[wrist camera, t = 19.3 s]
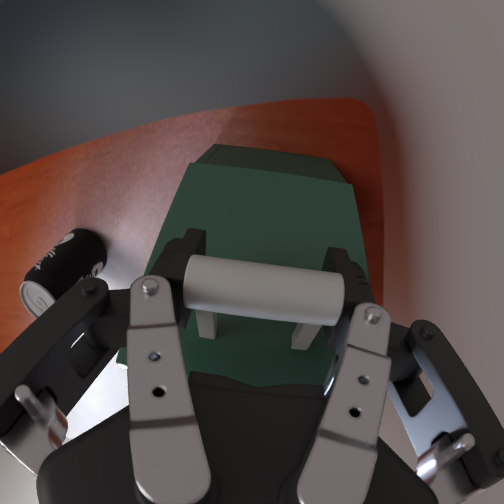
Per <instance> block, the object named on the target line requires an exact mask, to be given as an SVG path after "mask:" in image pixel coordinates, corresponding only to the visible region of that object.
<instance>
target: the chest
mask: <svg viewBox="0 0 504 504" xmlns="http://www.w3.org/2000/svg"><path fill="white" fill-rule="evenodd" d="M195 163H200V164H211V165H221V166H231V167H240V168H248V169H256V170H264V171H272V172H279V173H286V174H293V175H300V176H306V177H312V178H319V179H325V180H330V181H336V182H342V183H347V182H346V181H345V179H344V178H343V177H342V175H341V174H340V172H339V171H338V170H337V168H336V167H335V165H334V164H333V163H332V161H331V160H330V159H325V158H319V157H313V156H307V155H301V154H294V153H287V152H280V151H273V150H266V149H258V148H249V147H240V146H231V145H220V144H214V145H213V146H211V147H210V148H209V149H208V150H207V151H206V152H205V153H204V154H203V155H202V156H201V157H200V158H199V159H198V160H197V161H196V162H195Z"/></svg>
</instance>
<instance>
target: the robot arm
mask: <svg viewBox="0 0 504 504" xmlns="http://www.w3.org/2000/svg"><path fill="white" fill-rule="evenodd" d="M192 255H203V256H206V230H203V229H195V228H188V229H187V231H186V233H185V235H184V237H183V238H174V239H172V240H171V241H169V242H167V243H166V245H165V246H164V248H163V250H162V252H161V253H160V255H159V257H158V258H157V260H156V262H155V263H154V265H153V267H152V269H151V270H150V272H149V274H148V275H146V276H142V277H140V278H138V279H136V280H135V281H134V282H133V283H132V284H131V287H130V288H129V289H121V290H109V289H108V285H107V283H106V282H105V281H104V280H102V279H100V278H86V279H83V280H81V281H79V282H77V283H76V284H75V285H74V286H73V287H71V288H70V289H69V290H68V291H67V292H66V293H65V294H63V295H62V296H61V297H60V298H59V299H58V300H57V301H56V302H54V303H53V304H52V305H51V306H50V307H49V308H48V309H47V310H46V311H45V312H44V313H42V314H41V315H40V316H39V317H38V318H37V319H36V320H35V321H34V322H33V323H32V324H31V325H30V326H29V327H28V328H26V329H25V330H24V331H23V332H22V333H21V334H20V335H19V336H18V337H17V338H16V339H15V340H14V341H13V342H12V343H11V344H10V345H9V346H8V347H7V348H6V349H5V350H4V351H3V352H2V353H1V354H0V447H1V449H3V450H5V451H6V452H8V453H9V454H10V455H11V456H13V457H14V458H15V459H17V460H18V461H19V462H20V463H21V464H22V465H23V466H25V468H27V469H28V470H29V471H30V472H31V473H32V474H33V475H35V476H36V477H37V480H36V486H37V487H36V489H37V495H38V500H39V504H459V503H461V502H463V501H465V500H467V499H469V498H471V497H473V496H475V495H477V494H478V493H480V492H482V491H484V490H485V489H487V488H489V487H490V486H492V485H494V484H495V483H497V482H499V481H500V480H502V479H504V429H503V427H502V426H501V424H500V422H499V420H498V418H497V417H496V415H495V413H494V411H493V410H492V408H491V406H490V405H489V403H488V401H487V400H486V398H485V397H484V395H483V393H482V391H481V390H480V388H479V387H478V385H477V384H476V382H475V380H474V379H473V377H472V376H471V374H470V373H469V371H468V369H467V368H466V367H465V366H464V363H463V362H462V361H461V359H460V358H459V356H458V355H457V353H456V352H455V350H454V349H453V347H452V346H451V344H450V343H449V342H448V340H447V339H446V337H445V336H444V334H443V333H442V332H441V330H440V329H439V328H438V327H437V326H436V325H435V324H433V323H431V322H429V321H427V320H416V321H414V322H413V323H412V325H411V327H410V328H407V327H404V326H401V325H398V324H395V323H392V322H391V317H390V315H389V313H388V312H387V311H386V310H385V309H384V308H383V307H381V306H379V305H377V304H376V302H375V299H374V297H373V294H372V291H371V288H370V286H369V285H368V284H369V283H368V280H367V279H366V275H365V273H364V270H363V269H362V267H361V266H360V265H359V264H358V263H357V262H354V261H350V258H349V255H348V252H347V250H346V249H343V248H336V247H328V249H327V252H326V255H325V259H324V263H323V266H322V270H321V271H326V272H334V273H339V274H341V275H342V277H343V280H344V286H345V296H344V305H343V309H342V313H341V316H340V319H339V321H338V322H337V324H336V325H334V326H327V325H323V326H324V333H325V340H326V347H331V348H336V354H335V356H334V358H333V361H332V364H331V367H330V369H329V372H328V375H327V378H326V380H325V383H324V385H309V384H294V383H291V384H283V385H275V386H267V387H254V386H251V385H248V384H245V383H242V382H240V381H237V380H234V379H231V378H228V377H226V376H222V375H215V374H209V373H203V372H197V371H191V370H190V374H189V378H188V380H187V375H186V370H185V365H184V360H183V355H182V349H181V343H180V338H179V332H178V328H180V329H186V326H187V323H188V320H189V317H190V314H191V311H192V309H190V308H186V307H185V305H184V301H183V284H184V277H185V272H186V267H187V264H188V261H189V259H190V257H191V256H192ZM83 332H84V335H83V336H82V337H81V338H80V339H79V340H78V341H77V342H76V343H75V344H74V346H73V347H72V348H71V346H72V344H73V343H74V342H75V341H76V340H77V339H78V337H79V336H80V335H81V334H82V333H83ZM123 347H127V376H128V396H129V405H128V406H126V407H125V408H123V409H121V410H120V411H118V412H117V413H115V414H113V415H112V416H110V417H109V418H107V419H105V420H104V421H102V422H101V423H99V424H97V425H96V426H94V427H92V428H91V429H89V430H88V431H86V432H84V433H83V434H81V435H79V436H78V437H76V438H74V439H72V440H71V441H69V442H67V443H66V444H64V445H62V442H64V440H65V438H66V433H67V429H68V422H67V419H66V416H67V415H68V414H69V413H70V411H71V410H72V409H73V407H74V406H75V405H76V403H77V402H78V401H79V400H80V398H81V397H82V396H83V394H84V393H85V392H86V391H87V389H88V388H89V387H90V385H91V384H92V383H93V382H94V380H95V379H96V378H97V377H98V375H99V374H100V373H101V372H102V370H103V369H104V368H105V366H106V365H107V364H108V363H109V362H110V360H111V359H112V358H113V357H114V355H115V354H116V353H117V352H118V350H119V349H120V348H123ZM422 372H424V374H425V375H426V377H427V379H428V380H429V382H430V384H431V386H432V388H433V396H432V398H431V397H430V395H429V394H428V392H427V390H426V388H425V386H424V384H423V383H422V381H421V379H420V377H419V376H420V374H421V373H422ZM387 392H388V394H389V396H390V398H391V400H392V402H393V404H394V406H395V408H396V410H397V412H398V415H399V417H400V419H401V421H402V423H403V425H404V427H405V429H406V432H407V434H408V436H409V438H410V440H411V442H412V445H413V447H414V449H415V451H416V454H417V456H418V461H417V470H416V472H414V471H413V470H412V469H411V468H410V467H409V466H408V465H407V464H406V463H405V462H404V461H403V460H402V459H401V458H400V457H399V456H398V455H397V454H396V453H395V452H394V451H393V450H392V449H391V448H390V447H389V446H388V445H387V444H386V443H385V442H384V441H383V440H382V439H381V438H380V437H379V436H378V434H379V429H380V425H381V420H382V415H383V410H384V404H385V399H386V394H387Z"/></svg>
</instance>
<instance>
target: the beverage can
mask: <svg viewBox="0 0 504 504" xmlns="http://www.w3.org/2000/svg"><path fill="white" fill-rule="evenodd" d="M106 262H107V253H106V250H105V247H104V244H103V242H102V241H101V239H100V238H99V237H98V236H97V235H96V234H94V233H93V232H91V231H89V230H86V229H80V228H79V229H74V230H72V231H71V232H70V233H69V234H68V235H66V236H65V237H64V238H63V239H62V240H61V241H60V242H59V243H58V244H57V245H56V246H54V247H53V248H52V249H51V250H50V251H49V252H48V253H47V254H46V255H45V256H44V257H43V258H42V259H41V260H40V261H39V262H38V263H37V264H36V265H35V266H34V267H33V268H32V269H31V270H30V271H29V272H28V273H27V274H26V276H25V278H24V283H23V284H22V285H21V287H20V296H21V299H22V302H23V304H24V305H25V307H26V309H27V310H28V311H29V312H30V313H31V314H32V315H33V316H34V317H35V318H36V319H37V318H38V317H39V316H40V315H41V314H42V313H44V312H45V311H46V310H47V309H48V308H49V307H50V306H51V305H52V304H53V303H54V302H56V301H57V300H58V299H59V298H60V297H61V296H62V295H63V294H65V293H66V292H67V291H68V290H69V289H70V288H71V287H73V286H74V285H75V284H76V283H77V282H79V281H81V280H83V279H86V278H96V277H97V276H98V275H99V273H100V272H101V271H102V270H103V268H104V267H105V265H106Z"/></svg>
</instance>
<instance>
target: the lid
mask: <svg viewBox="0 0 504 504" xmlns="http://www.w3.org/2000/svg"><path fill="white" fill-rule="evenodd" d="M188 228H195V229H203V230H206V256H203V255H192V256H191V257H190V259H189V261H188V264H187V267H186V272H185V277H184V284H183V301H184V305H185V307H186V308H190V309H192V311H191V314H190V317H189V320H188V323H187V326H186V329H180V328H178V332H179V338H180V343H181V349H182V355H183V360H184V365H185V370H186V375H187V380H188V378H189V374H190V370H191V371H197V372H203V373H209V374H215V375H222V376H226V377H228V378H231V379H234V380H237V381H240V382H242V383H245V384H248V385H251V386H254V387H267V386H275V385H283V384H291V383H294V384H309V385H324V383H325V380H326V378H327V375H328V372H329V369H330V367H331V364H332V361H333V358H334V356H335V354H336V348H331V347H326V340H325V333H324V326H323V325H327V326H334V325H336V324H337V322H338V321H339V319H340V316H341V313H342V309H343V305H344V296H345V286H344V280H343V277H342V275H341V274H339V273H334V272H326V271H321V270H322V266H323V263H324V259H325V255H326V252H327V249H328V247H336V248H343V249H346V250H347V252H348V255H349V258H350V261H354V262H357V263H358V264H359V265H360V266H361V267H362V269H363V270H364V273H365V275H366V279H367V280H368V283H369V284H368V285H369V286H370V281H369V274H368V267H367V260H366V254H365V248H364V242H363V236H362V230H361V225H360V219H359V214H358V209H357V204H356V199H355V194H354V190H353V185H352V184H347V183H342V182H336V181H330V180H325V179H319V178H312V177H306V176H300V175H293V174H286V173H279V172H272V171H264V170H256V169H248V168H240V167H231V166H221V165H211V164H200V163H189V165H188V168H187V170H186V172H185V174H184V176H183V179H182V181H181V183H180V185H179V188H178V190H177V192H176V195H175V197H174V199H173V202H172V204H171V206H170V209H169V211H168V214H167V216H166V218H165V221H164V223H163V226H162V228H161V231H160V233H159V236H158V238H157V241H156V243H155V246H154V249H153V251H152V254H151V257H150V259H149V262H148V265H147V267H146V270H145V273H144V276H146V275H148V274H149V272H150V270H151V269H152V267H153V265H154V263H155V262H156V260H157V258H158V257H159V255H160V253H161V252H162V250H163V248H164V246H165V245H166V243H167V242H169V241H171V240H172V239H174V238H183V237H184V235H185V233H186V231H187V229H188ZM116 363H117V364H118V365H119V366H120V367H121V368H124V369H127V347H123V348H120V349H119V352H118V356H117V359H116Z"/></svg>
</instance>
